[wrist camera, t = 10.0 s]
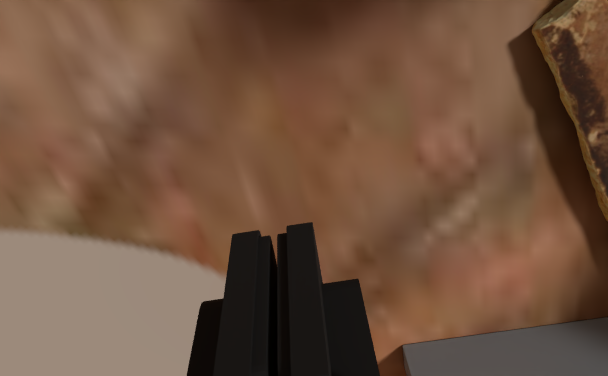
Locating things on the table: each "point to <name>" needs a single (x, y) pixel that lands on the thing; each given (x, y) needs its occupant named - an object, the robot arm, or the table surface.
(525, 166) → the table surface
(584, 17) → the shard
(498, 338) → the box
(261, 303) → the robot arm
